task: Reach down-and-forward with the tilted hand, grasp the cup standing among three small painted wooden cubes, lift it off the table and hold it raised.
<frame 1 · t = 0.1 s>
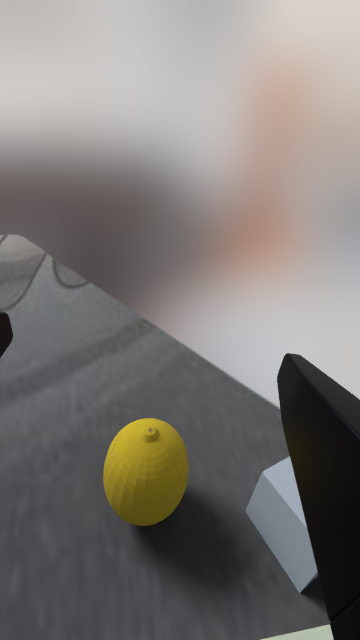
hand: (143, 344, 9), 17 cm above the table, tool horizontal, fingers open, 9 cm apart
lemon: (144, 504, 20), on the table
block slate: (294, 529, 20), on the table
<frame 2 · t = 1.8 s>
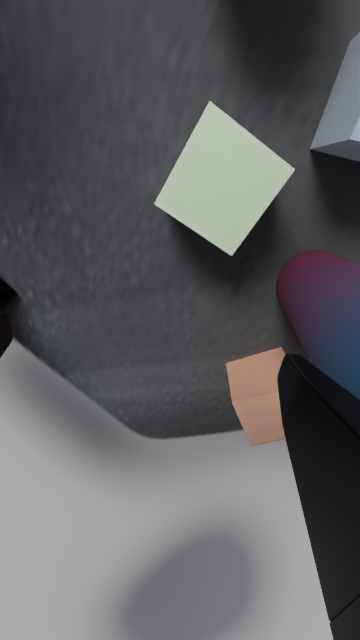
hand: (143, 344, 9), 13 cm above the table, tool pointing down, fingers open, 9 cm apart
block terracotta: (260, 375, 25), on the table
cup: (308, 282, 21), on the table
block sage: (215, 185, 18), on the table
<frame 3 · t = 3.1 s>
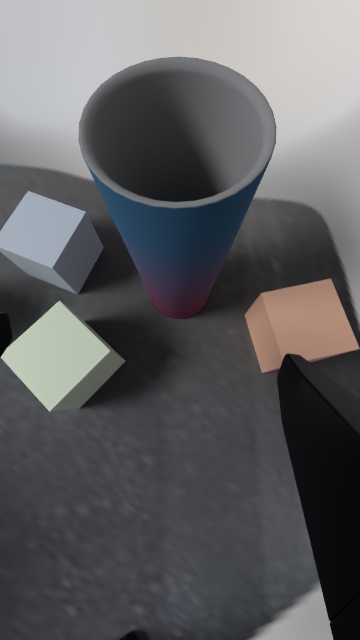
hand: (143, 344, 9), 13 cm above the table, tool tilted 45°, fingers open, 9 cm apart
block terracotta: (281, 337, 23), on the table
cup: (179, 292, 24), on the table
block sage: (82, 363, 22), on the table
block slate: (67, 261, 25), on the table
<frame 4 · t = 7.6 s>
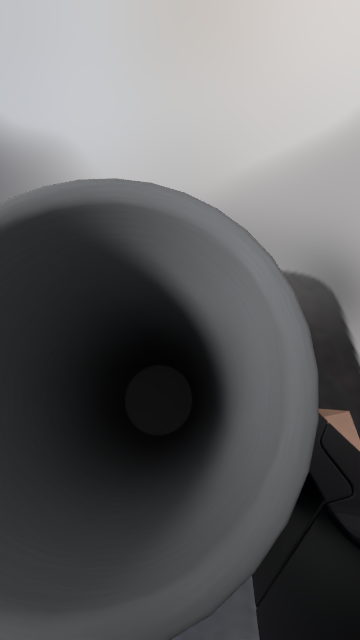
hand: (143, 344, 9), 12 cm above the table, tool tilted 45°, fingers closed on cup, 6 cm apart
block terracotta: (285, 453, 19), on the table
cup: (159, 399, 18), point 1 cm above the table, touching gripper
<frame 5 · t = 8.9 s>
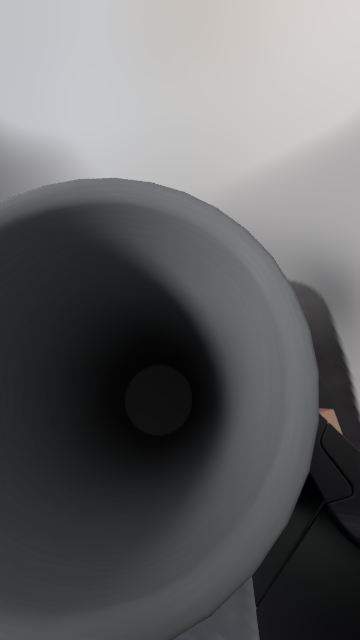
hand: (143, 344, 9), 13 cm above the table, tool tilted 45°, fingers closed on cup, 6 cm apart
cup: (159, 399, 18), point 3 cm above the table, touching gripper
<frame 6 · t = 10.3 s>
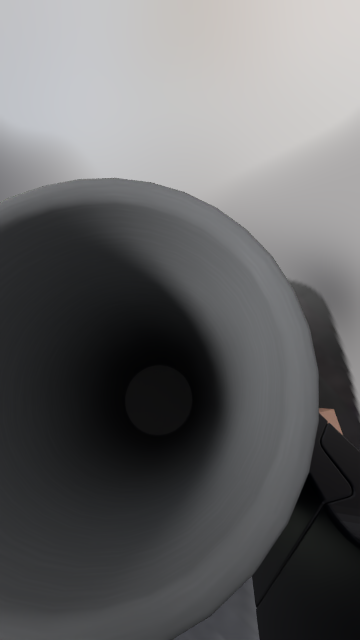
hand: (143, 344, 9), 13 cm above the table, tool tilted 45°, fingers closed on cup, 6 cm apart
cup: (159, 399, 18), point 3 cm above the table, touching gripper
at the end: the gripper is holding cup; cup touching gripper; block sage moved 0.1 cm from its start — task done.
